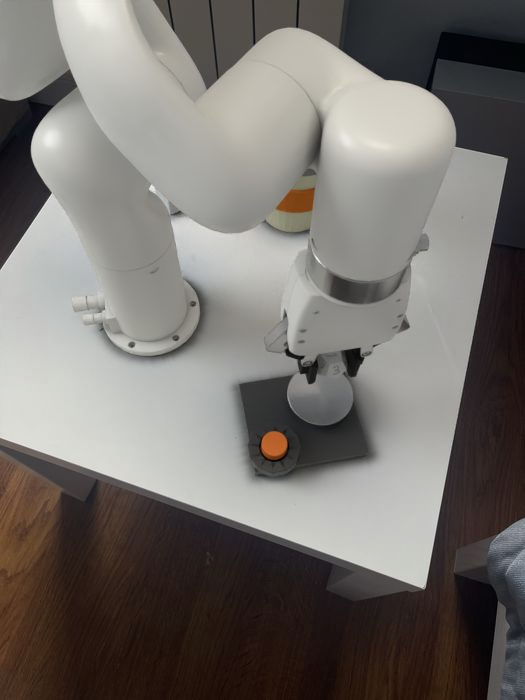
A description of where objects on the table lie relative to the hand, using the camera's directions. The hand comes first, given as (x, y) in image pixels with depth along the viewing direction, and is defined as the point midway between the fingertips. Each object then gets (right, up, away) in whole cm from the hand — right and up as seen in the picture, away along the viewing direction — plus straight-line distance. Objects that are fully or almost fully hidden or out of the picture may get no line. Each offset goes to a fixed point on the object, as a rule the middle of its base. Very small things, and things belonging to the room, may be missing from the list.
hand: (328, 367), depth 56 cm
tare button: (-6, -9, +4) cm, 11 cm away
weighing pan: (0, -3, +6) cm, 7 cm away
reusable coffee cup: (-2, +23, +24) cm, 33 cm away
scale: (-2, -7, +8) cm, 11 cm away
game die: (0, 0, 0) cm, 0 cm away
